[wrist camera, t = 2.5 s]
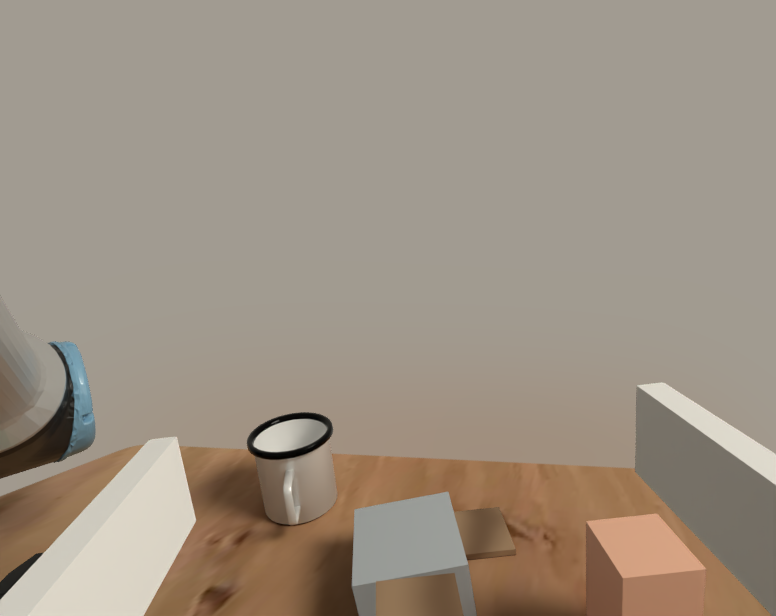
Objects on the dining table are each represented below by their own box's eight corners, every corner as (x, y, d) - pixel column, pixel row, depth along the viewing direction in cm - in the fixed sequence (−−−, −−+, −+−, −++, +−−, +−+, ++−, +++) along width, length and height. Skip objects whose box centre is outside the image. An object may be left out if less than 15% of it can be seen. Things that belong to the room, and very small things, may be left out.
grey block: (364, 638, 37) (351, 586, 36) (364, 553, 46) (354, 509, 44) (477, 616, 37) (468, 564, 36) (455, 536, 46) (448, 491, 44)
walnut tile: (451, 561, 43) (451, 556, 43) (442, 518, 49) (441, 513, 49) (515, 554, 43) (515, 549, 43) (499, 512, 49) (499, 507, 49)
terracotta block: (620, 706, 30) (623, 578, 28) (586, 635, 35) (586, 521, 33) (697, 698, 30) (706, 569, 28) (652, 628, 35) (657, 513, 33)
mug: (266, 484, 59) (254, 418, 56) (342, 472, 59) (332, 407, 57) (248, 554, 47) (232, 474, 45) (343, 539, 48) (331, 460, 46)
